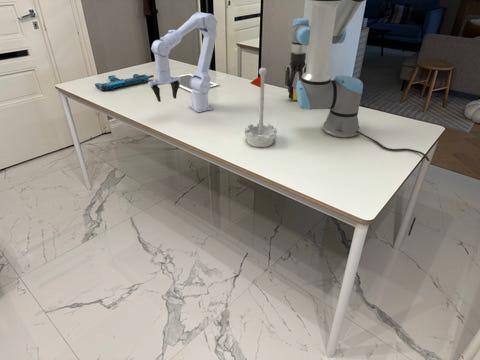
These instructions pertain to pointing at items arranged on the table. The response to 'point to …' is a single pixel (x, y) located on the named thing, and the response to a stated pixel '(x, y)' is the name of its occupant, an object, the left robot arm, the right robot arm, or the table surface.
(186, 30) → the left robot arm
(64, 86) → the table surface
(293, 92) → the tin
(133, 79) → the submachine gun
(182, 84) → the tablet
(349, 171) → the table surface
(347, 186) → the table surface
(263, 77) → the flag stand
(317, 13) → the right robot arm
